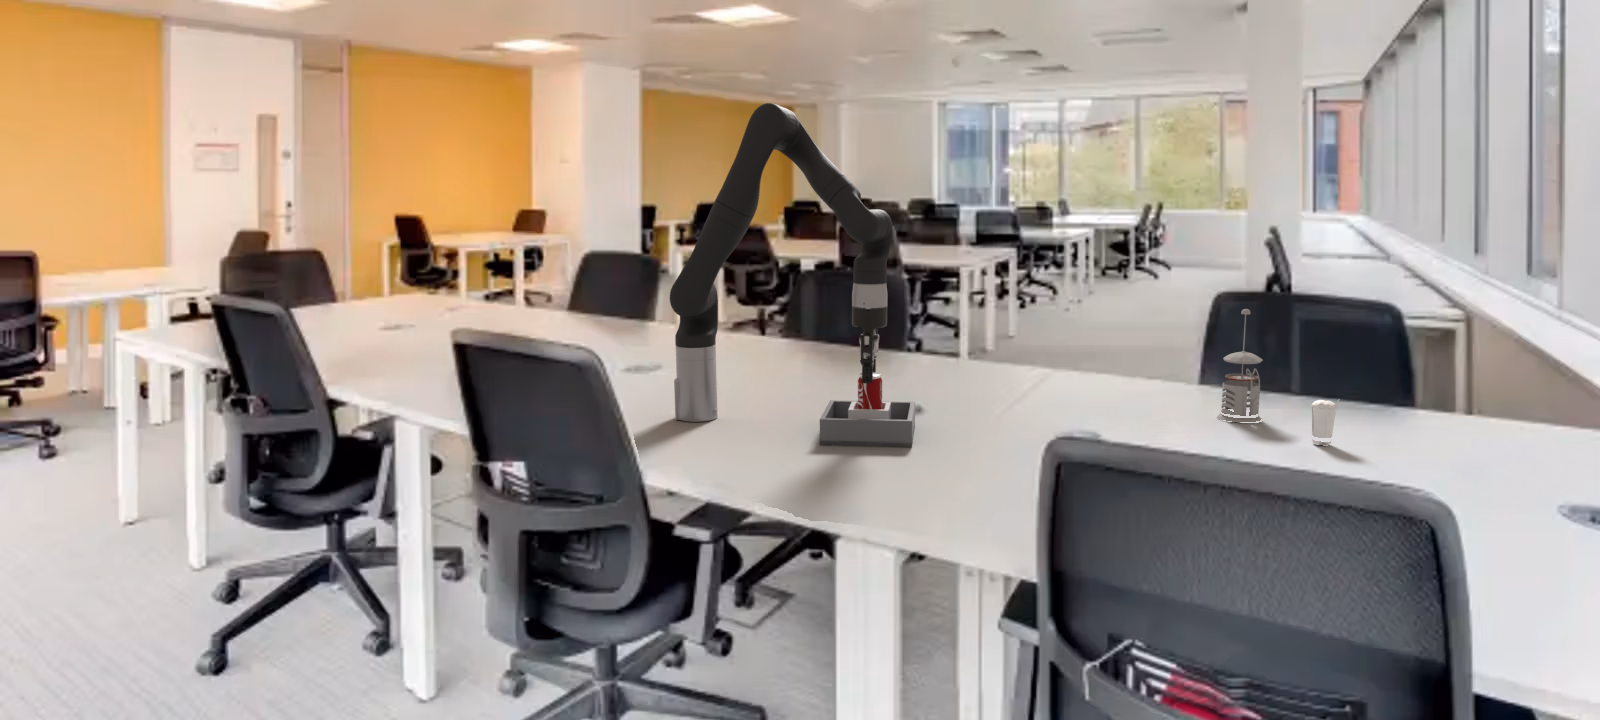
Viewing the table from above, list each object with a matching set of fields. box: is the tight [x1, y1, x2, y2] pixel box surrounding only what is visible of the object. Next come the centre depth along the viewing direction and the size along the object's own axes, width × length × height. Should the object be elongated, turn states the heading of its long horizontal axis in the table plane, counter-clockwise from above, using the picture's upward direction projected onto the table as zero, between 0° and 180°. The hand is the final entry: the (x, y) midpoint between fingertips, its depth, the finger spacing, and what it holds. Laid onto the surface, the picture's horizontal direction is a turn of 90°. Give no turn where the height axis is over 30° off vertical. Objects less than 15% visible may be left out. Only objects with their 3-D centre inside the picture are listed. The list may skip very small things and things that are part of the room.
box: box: [819, 399, 916, 448], centre depth 221 cm, size 19×19×6 cm
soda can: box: [857, 372, 883, 409], centre depth 222 cm, size 5×5×12 cm
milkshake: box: [1311, 398, 1340, 446], centre depth 207 cm, size 4×5×10 cm
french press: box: [1216, 308, 1263, 422], centre depth 229 cm, size 10×12×25 cm
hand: (868, 379), depth 221 cm, fingers open, 8 cm apart
